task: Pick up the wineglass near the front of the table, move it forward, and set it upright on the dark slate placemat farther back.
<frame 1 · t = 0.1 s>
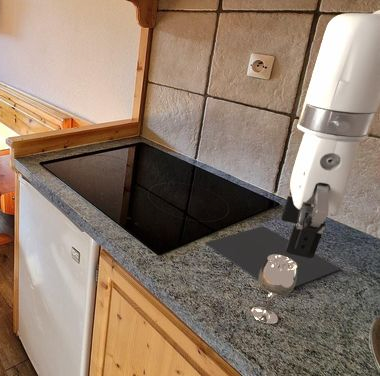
hand: (295, 237, 58), 22 cm above the worktop, tool pointing down, fingers open, 9 cm apart
placemat: (269, 256, 93), on the worktop
wineglass: (264, 316, 75), on the worktop
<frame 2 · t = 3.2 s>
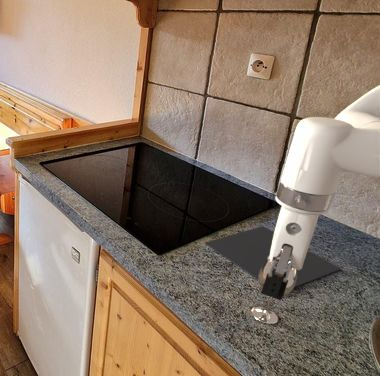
hand: (274, 285, 72), 7 cm above the worktop, tool pointing down, fingers closed on wineglass, 5 cm apart
wineglass: (264, 316, 75), on the worktop, touching gripper
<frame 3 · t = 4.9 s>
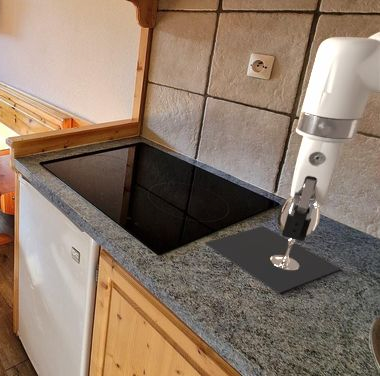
hand: (295, 228, 68), 18 cm above the worktop, tool pointing down, fingers closed on wineglass, 5 cm apart
wineglass: (284, 263, 71), point 11 cm above the worktop, touching gripper
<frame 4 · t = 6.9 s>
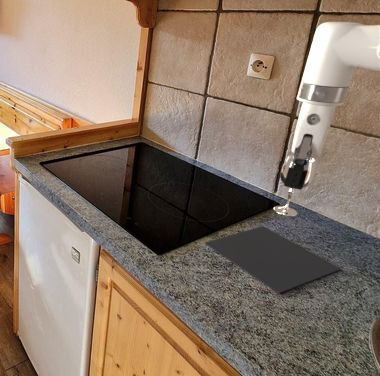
hand: (294, 181, 83), 20 cm above the worktop, tool pointing down, fingers closed on wineglass, 5 cm apart
wineglass: (285, 211, 86), point 13 cm above the worktop, touching gripper
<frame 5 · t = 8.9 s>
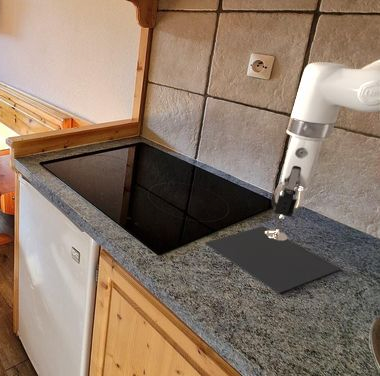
hand: (284, 207, 88), 13 cm above the worktop, tool pointing down, fingers closed on wineglass, 5 cm apart
wineglass: (275, 235, 91), point 5 cm above the worktop, touching gripper
when the fingers open (7 cm above the worktop, at t = 10.8 s): wineglass stays where it is, resting on placemat.
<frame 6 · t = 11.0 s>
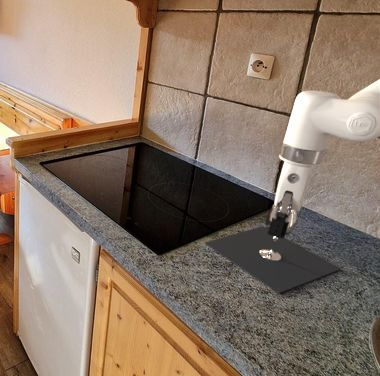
hand: (278, 228, 90), 7 cm above the worktop, tool pointing down, fingers open, 6 cm apart
wineglass: (270, 255, 93), resting on placemat
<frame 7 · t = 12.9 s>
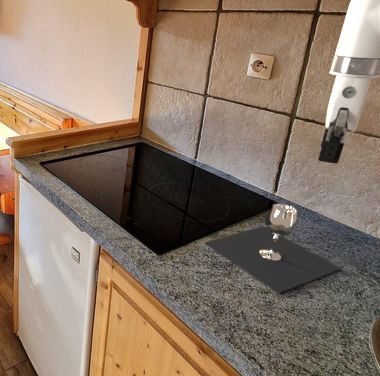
hand: (328, 154, 81), 25 cm above the worktop, tool pointing down, fingers open, 9 cm apart
nothing on the worktop moved.
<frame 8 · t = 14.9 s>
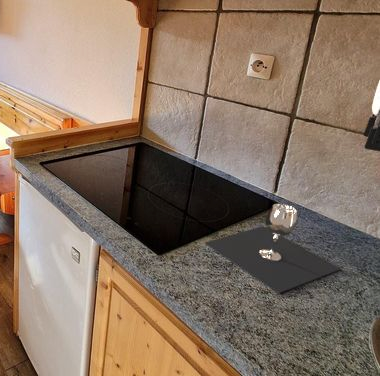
hand: (373, 143, 79), 28 cm above the worktop, tool pointing down, fingers open, 9 cm apart
nothing on the worktop moved.
at the end: wineglass inside the target area on the placemat (0.0 cm from its centre), point 0.2 cm above the placemat's base; wineglass tilted 0°; wineglass moved 22.2 cm from its start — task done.
